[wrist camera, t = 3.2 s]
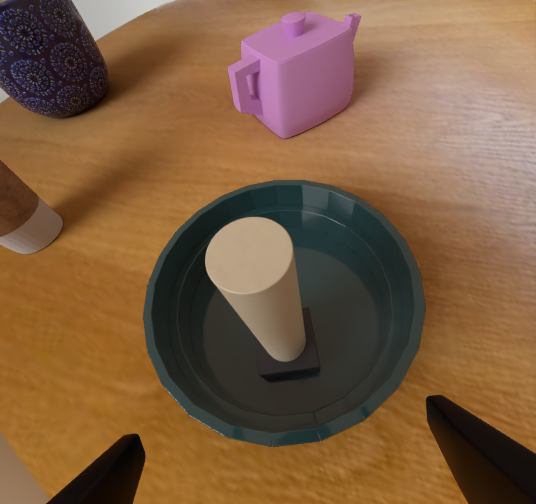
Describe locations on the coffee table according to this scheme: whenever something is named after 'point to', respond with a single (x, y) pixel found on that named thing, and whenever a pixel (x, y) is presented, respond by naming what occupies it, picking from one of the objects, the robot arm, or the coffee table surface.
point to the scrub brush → (265, 294)
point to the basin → (312, 296)
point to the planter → (49, 58)
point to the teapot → (296, 72)
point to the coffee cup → (24, 216)
